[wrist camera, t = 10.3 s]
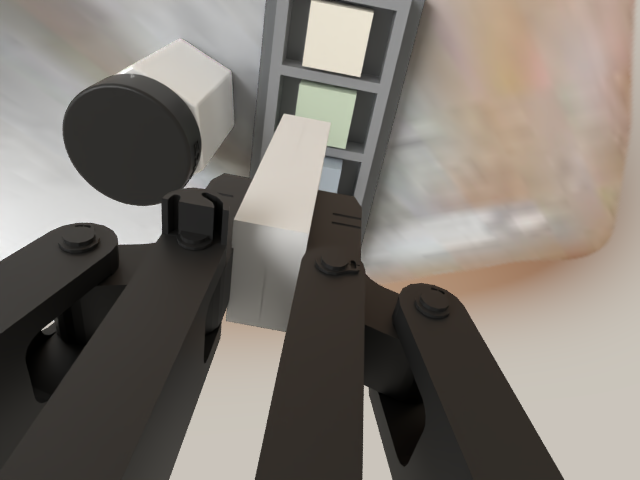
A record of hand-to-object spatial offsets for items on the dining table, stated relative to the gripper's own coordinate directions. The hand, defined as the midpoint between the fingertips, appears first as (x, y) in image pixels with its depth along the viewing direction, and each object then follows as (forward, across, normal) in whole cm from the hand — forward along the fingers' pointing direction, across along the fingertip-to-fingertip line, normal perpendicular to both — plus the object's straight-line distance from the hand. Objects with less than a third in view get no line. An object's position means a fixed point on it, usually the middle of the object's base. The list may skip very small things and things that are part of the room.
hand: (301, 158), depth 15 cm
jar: (+25, -12, -7) cm, 28 cm away
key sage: (+22, 0, -6) cm, 23 cm away
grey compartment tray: (+24, 0, -8) cm, 26 cm away
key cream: (+22, 0, 0) cm, 22 cm away
